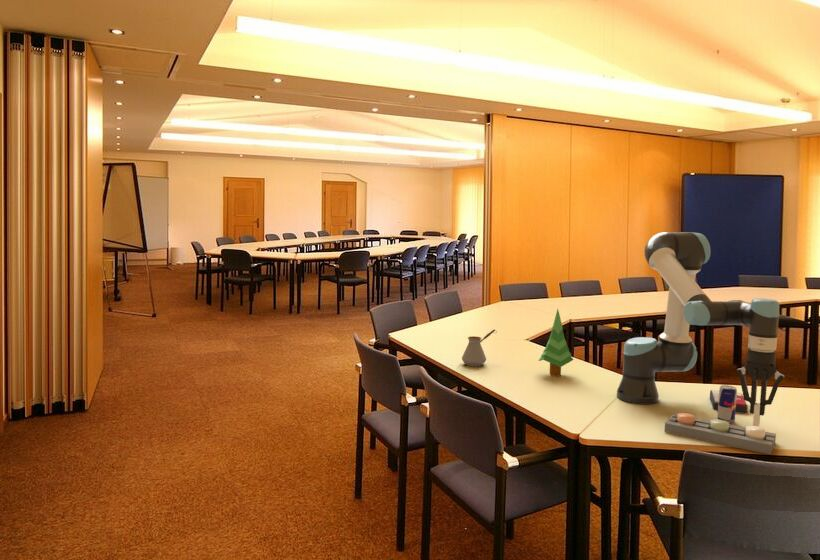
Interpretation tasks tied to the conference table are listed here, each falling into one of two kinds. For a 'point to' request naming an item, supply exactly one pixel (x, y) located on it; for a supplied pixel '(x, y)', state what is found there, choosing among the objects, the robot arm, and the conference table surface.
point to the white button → (755, 432)
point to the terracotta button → (686, 418)
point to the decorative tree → (556, 348)
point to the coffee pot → (475, 351)
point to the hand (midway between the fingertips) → (756, 424)
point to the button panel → (721, 435)
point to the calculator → (740, 401)
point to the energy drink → (727, 403)
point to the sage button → (719, 425)
